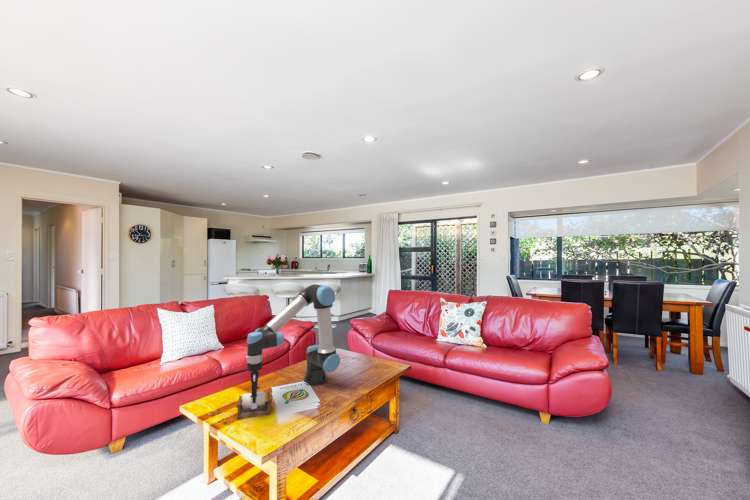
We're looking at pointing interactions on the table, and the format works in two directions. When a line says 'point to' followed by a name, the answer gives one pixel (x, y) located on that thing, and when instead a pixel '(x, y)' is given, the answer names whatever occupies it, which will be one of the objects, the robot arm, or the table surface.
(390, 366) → the table surface
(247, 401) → the roll
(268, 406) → the holder
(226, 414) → the table surface
